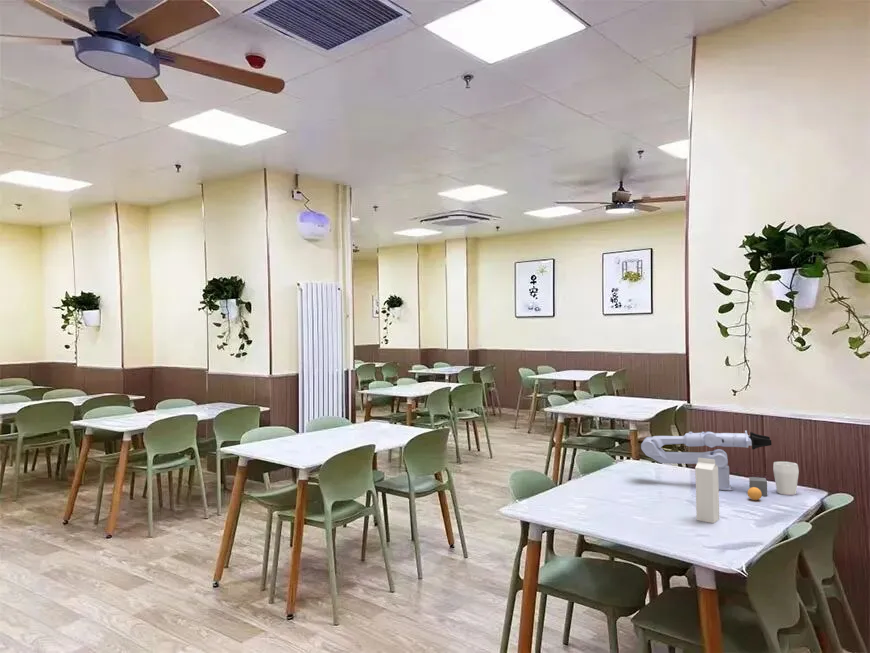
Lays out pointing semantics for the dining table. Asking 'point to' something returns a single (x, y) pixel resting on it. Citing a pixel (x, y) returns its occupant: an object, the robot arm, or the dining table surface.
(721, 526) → the dining table surface
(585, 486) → the dining table surface
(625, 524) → the dining table surface
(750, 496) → the ball
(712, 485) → the milk
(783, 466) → the cup
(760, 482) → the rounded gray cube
